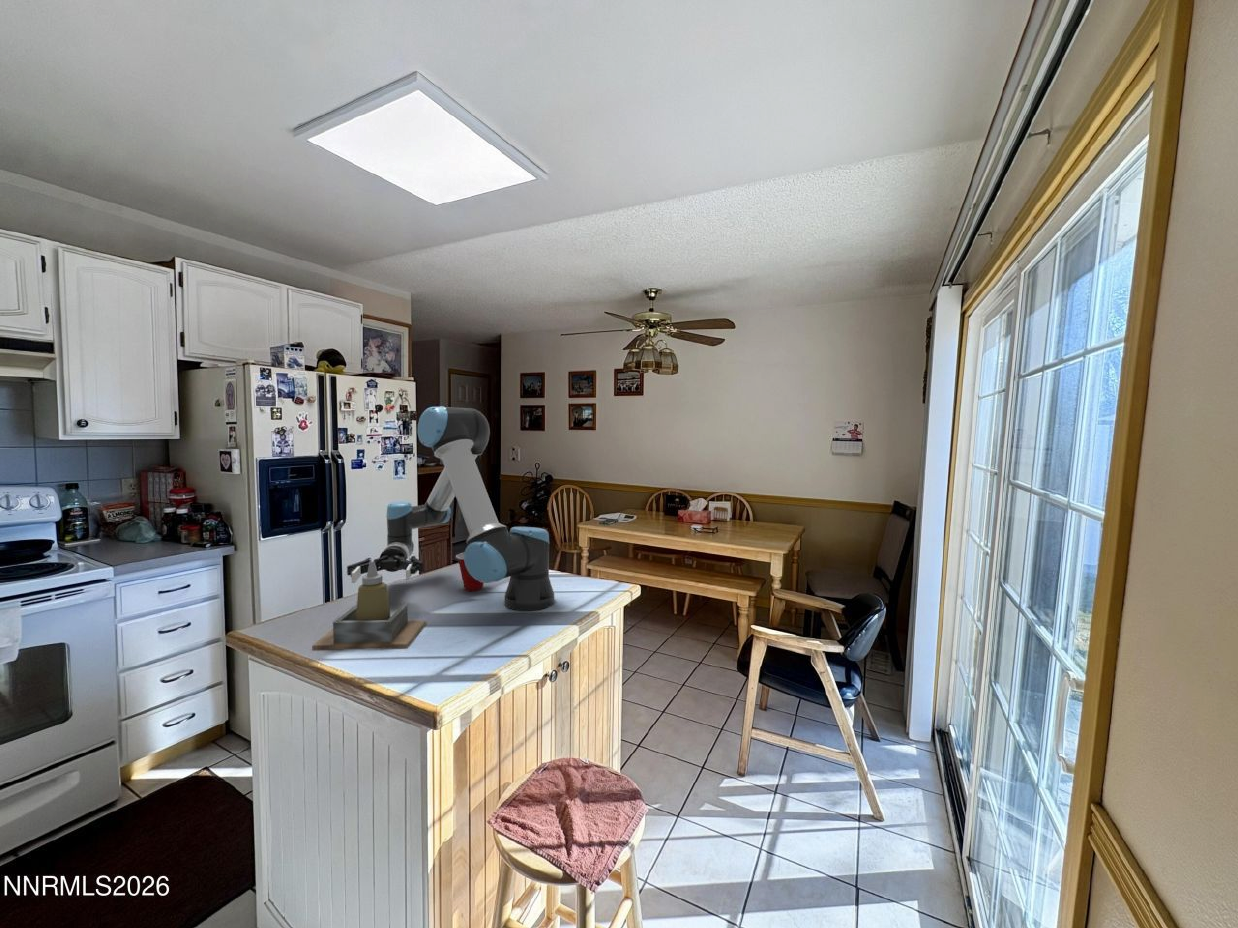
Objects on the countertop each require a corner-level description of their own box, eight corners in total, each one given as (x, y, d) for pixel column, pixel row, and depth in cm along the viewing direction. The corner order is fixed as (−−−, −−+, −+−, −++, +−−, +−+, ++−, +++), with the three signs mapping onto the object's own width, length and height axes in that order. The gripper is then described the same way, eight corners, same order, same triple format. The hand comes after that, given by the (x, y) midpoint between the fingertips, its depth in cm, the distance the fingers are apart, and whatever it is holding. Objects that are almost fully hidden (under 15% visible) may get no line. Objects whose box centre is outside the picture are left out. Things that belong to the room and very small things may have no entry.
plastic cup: (464, 582, 175) (464, 548, 174) (494, 584, 173) (494, 549, 172) (449, 592, 164) (449, 556, 163) (481, 594, 162) (481, 557, 162)
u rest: (426, 624, 138) (425, 602, 137) (407, 647, 123) (406, 623, 122) (341, 625, 136) (341, 603, 136) (312, 649, 121) (311, 624, 121)
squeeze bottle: (376, 639, 125) (375, 567, 124) (348, 636, 127) (346, 565, 126) (397, 626, 133) (396, 559, 132) (370, 623, 135) (368, 557, 134)
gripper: (436, 566, 162) (429, 587, 142) (350, 571, 156) (329, 592, 136) (436, 543, 162) (429, 560, 141) (350, 546, 156) (329, 565, 135)
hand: (380, 576), depth 138 cm, fingers open, 13 cm apart
